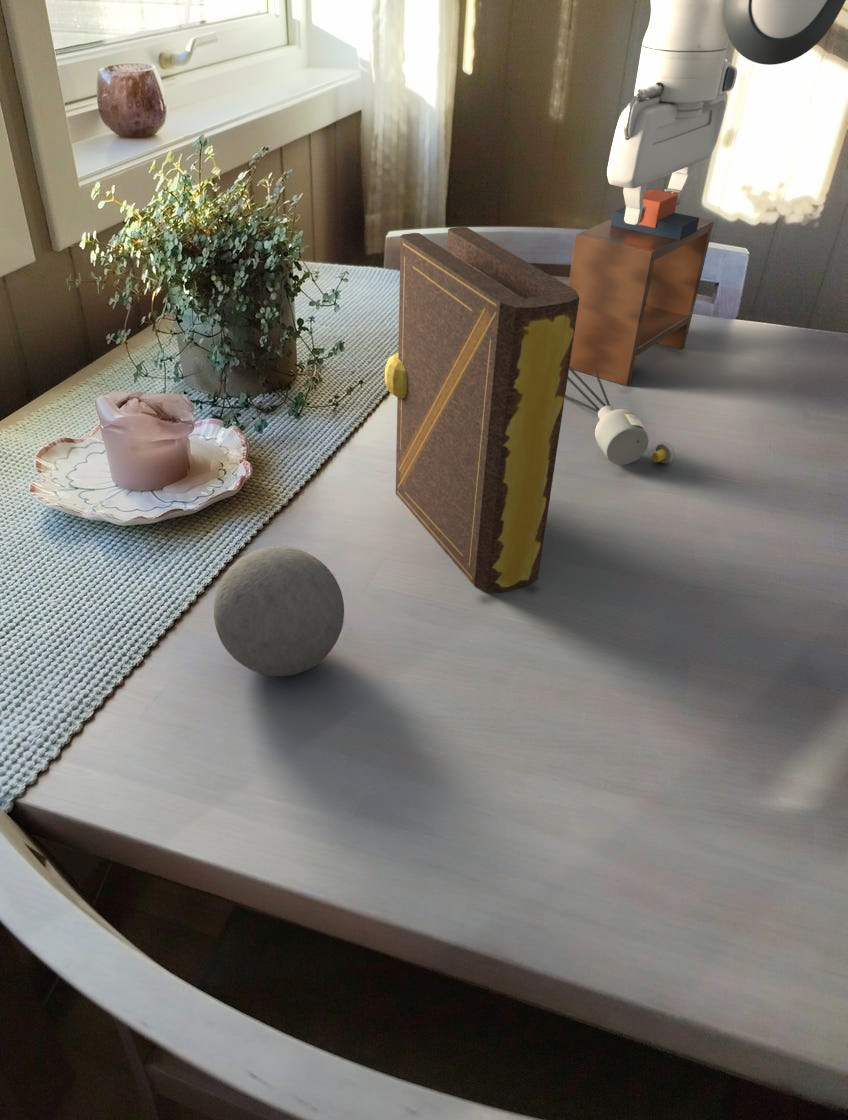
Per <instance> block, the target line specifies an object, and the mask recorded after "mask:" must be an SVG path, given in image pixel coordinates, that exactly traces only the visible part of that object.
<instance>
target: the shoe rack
mask: <svg viewBox="0 0 848 1120" xmlns="http://www.w3.org/2000/svg"><path fill="white" fill-rule="evenodd" d="M698 218H699V222H698V227H697V231H696V232H695V233H693V234H691V235H689V236H687V237H685V238H683V239H681V240H675V239H670V238H666V237H661V236H656V235H652V234H647V233H642V232H637V231H633V230H628V229H623V228H619V227H614V226H611V221H612V218H611V219H608V220H606V221H604V222H602V223H599V224H597V225H595V226H592V227H590V228H588V229H586V230H583V231H581V232H579V233H576V234H575V235H574V236H575V237H574V243H573V249H572V250H573V251H572V258H571V265H570V273H569V280H568V286H569V287H571V288H573V289H574V290H576V291H577V293H578V295H579V297H580V298H579V305H578V311H577V318H576V325H575V332H574V339H573V345H572V352H571V359H570V367H571V368H572V369H573V371H575V372H576V371H577V372H580V373H584V374H586V375H589V376H593V377H596V375H595V372H594V370H596V371H597V373H598V376H599V378H600V379H603V380H605V381H608V382H612V383H615V384H618V385H622V386H624V387H628V386H629V385H631V383H632V378H633V372H634V367H635V362H636V357H637V356H639V355H641V354H642V353H644V352H645V351H646V350H648V349H650V348H651V347H653V346H654V345H657V344H660V345H664V346H667V347H671V348H675V349H678V350H683V349H684V348H686V343H687V340H688V336H689V331H690V326H691V322H692V317H693V315H694V314H693V313H694V310H695V305H696V301H697V297H698V292H699V287H700V284H701V279H702V275H703V270H704V266H705V262H706V257H707V254H708V249H709V244H710V239H711V236H712V233H713V232H712V231H713V226H714V224H715V221H714V219H713V220H712V219H708V218H702V217H698Z"/></svg>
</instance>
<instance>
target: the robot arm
mask: <svg viewBox="0 0 848 1120" xmlns="http://www.w3.org/2000/svg"><path fill="white" fill-rule="evenodd" d="M846 1H847V0H650V1H649V2H650V17H649V22H648V26H647V29H646V31H645V34H644V36H643V39H642V42H641V48H640V55H639V62H638V67H637V74H636V80H635V86H634V91H633V93H634V95H633V97H632V99H631V101H630V102H629V103H628V104H627V106H626V107H624V109H622V111H621V113H620V115H619V118H618V120H617V125H616V127H615V131H614V135H613V139H612V144H611V148H610V153H609V158H608V164H607V168H606V169H607V170H606V176H607V181H608V184H609V185H611V186H615V187H619V188H623V189H622V193H623V198H624V204H625V206H626V211H625V217H624V221H625V222H626V223H628V224H632V225H636V224H638V223H640V222H642V221H643V220H644V214H645V211H646V206H643V193H645V192H646V191H647V189H648V184H649V183H651V182H654V181H657V180H658V179H661V178H664V177H666V176H669V175H671V176H670V179H669V182H668V186H667V188H666V189H664V191H663V192H668V193H673V194H678V198H677V203H676V207H677V206H679V205H681V203H682V200H683V196H684V190H685V189H686V186H687V185H688V182H689V180H690V178H691V177H692V174H693V170H694V165H695V164H697V163H699V162H702V161H705V160H708V159H709V158H710V157H711V155H712V153H713V152H714V150H715V148H716V145H717V143H718V139H719V136H720V132H721V128H722V125H723V121H724V117H725V113H726V110H727V104H728V92H730V91H732V90H733V89H734V88H735V84H736V82H737V81H736V80H737V77H738V76H737V75H738V69H737V67H735V65H732V64H731V63H730V62H729V61H728V59H727V58H726V56H727V51H728V46H729V43H731V45H732V46H733V48H734V49H735V51H737V53H739V54H740V55H741V56H742V57H744V58H745V59H747V60H748V61H751V62H753V63H756V64H760V65H764V66H765V65H766V66H768V65H770V66H771V65H772V66H773V65H780V64H785V63H789V62H791V61H794V60H796V59H799V58H800V57H802V56H803V55H805V54H806V53H808V52H809V51H810V50H812V49H813V48H814V47H815V46H816V45H817V44H819V42H821V40H822V39H823V38H824V37H825V35H826V34H827V33H828V32H829V31H830V29H831V28H832V26H833V25H834V23H835V21H836V19H837V18H838V16H839V14H840V13H841V10H842V9H843V7H844V5H845V3H846Z"/></svg>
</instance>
